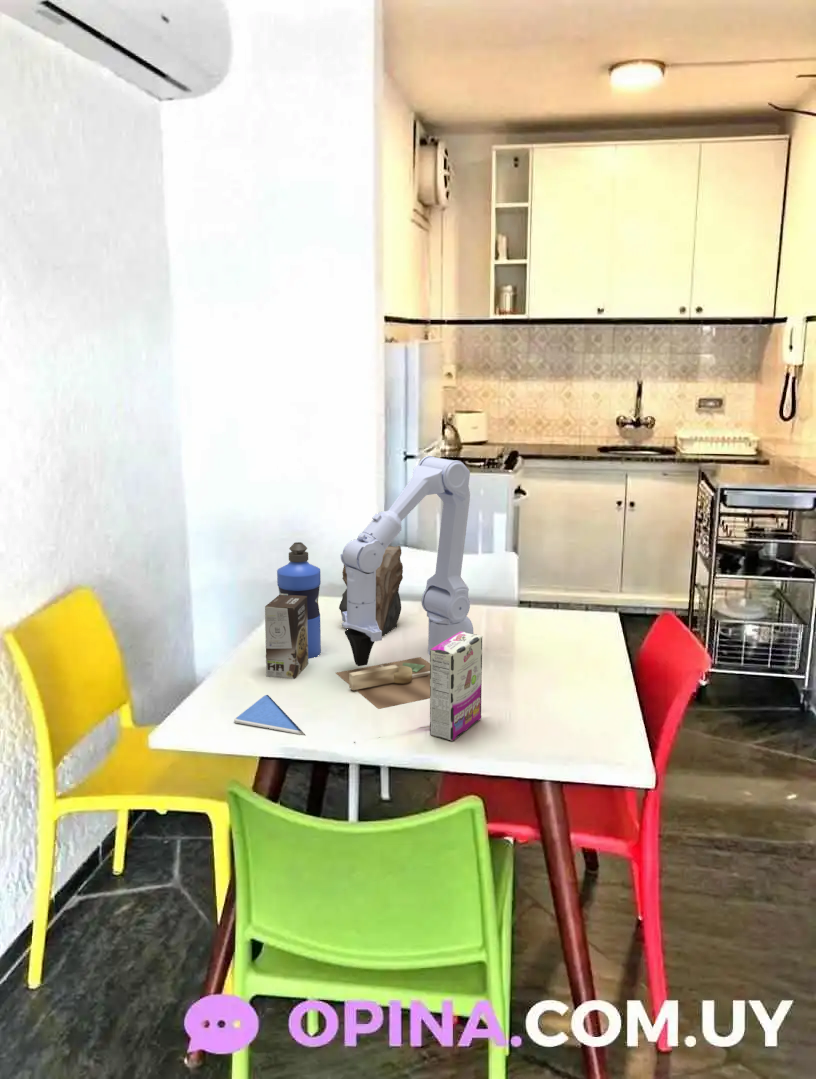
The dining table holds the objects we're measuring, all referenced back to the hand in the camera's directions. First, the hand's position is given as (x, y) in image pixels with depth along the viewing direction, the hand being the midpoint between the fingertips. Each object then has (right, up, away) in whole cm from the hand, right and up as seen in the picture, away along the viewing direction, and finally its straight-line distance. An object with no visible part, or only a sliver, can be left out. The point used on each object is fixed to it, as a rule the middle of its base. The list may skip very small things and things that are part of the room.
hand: (361, 664), depth 178 cm
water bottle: (-14, 0, +17) cm, 22 cm away
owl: (+1, +3, +33) cm, 33 cm away
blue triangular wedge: (-11, -8, -16) cm, 21 cm away
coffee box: (-15, -3, +4) cm, 16 cm away
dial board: (+8, -4, -1) cm, 9 cm away
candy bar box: (+18, -9, -19) cm, 28 cm away
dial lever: (+7, -3, -2) cm, 8 cm away
